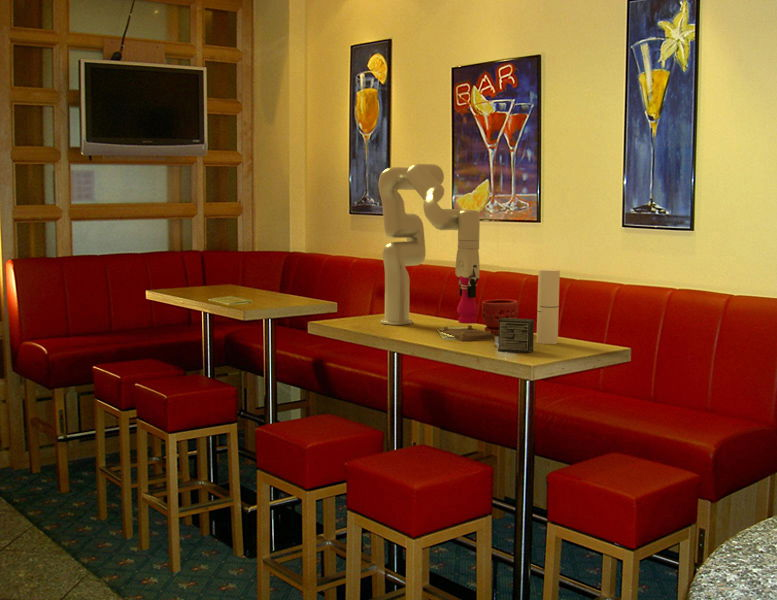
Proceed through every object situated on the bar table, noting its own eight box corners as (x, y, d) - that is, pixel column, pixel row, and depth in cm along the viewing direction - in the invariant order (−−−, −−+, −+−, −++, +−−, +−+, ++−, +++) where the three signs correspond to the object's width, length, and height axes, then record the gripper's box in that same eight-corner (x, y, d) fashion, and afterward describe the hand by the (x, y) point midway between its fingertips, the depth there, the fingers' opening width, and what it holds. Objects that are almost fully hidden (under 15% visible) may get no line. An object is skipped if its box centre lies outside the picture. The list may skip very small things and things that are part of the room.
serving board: (439, 333, 339) (439, 326, 338) (471, 332, 344) (471, 324, 344) (461, 341, 323) (461, 333, 323) (494, 339, 328) (494, 331, 328)
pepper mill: (476, 324, 329) (477, 267, 326) (455, 323, 330) (456, 266, 328) (478, 321, 336) (479, 265, 333) (458, 320, 337) (459, 265, 335)
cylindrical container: (550, 344, 317) (552, 271, 314) (532, 342, 322) (534, 269, 319) (561, 342, 323) (563, 269, 320) (543, 340, 327) (545, 268, 324)
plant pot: (507, 329, 350) (508, 298, 349) (523, 335, 338) (524, 302, 337) (475, 331, 346) (476, 299, 345) (490, 336, 334) (491, 303, 333)
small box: (534, 350, 306) (535, 318, 305) (529, 353, 300) (530, 321, 299) (502, 348, 310) (503, 316, 308) (497, 351, 304) (498, 319, 302)
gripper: (448, 244, 336) (447, 294, 338) (470, 246, 321) (469, 299, 323) (466, 243, 339) (465, 293, 341) (489, 246, 323) (488, 298, 326)
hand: (467, 296), depth 332 cm, fingers closed on pepper mill, 5 cm apart
